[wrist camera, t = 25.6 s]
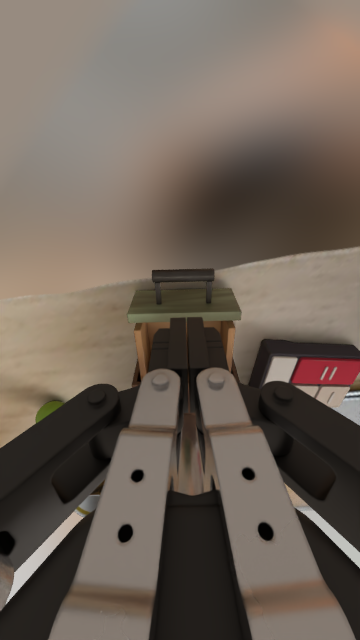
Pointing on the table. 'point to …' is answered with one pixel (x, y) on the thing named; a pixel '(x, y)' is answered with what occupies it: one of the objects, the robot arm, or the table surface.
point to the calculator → (308, 368)
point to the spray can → (190, 460)
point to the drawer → (182, 310)
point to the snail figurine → (47, 409)
